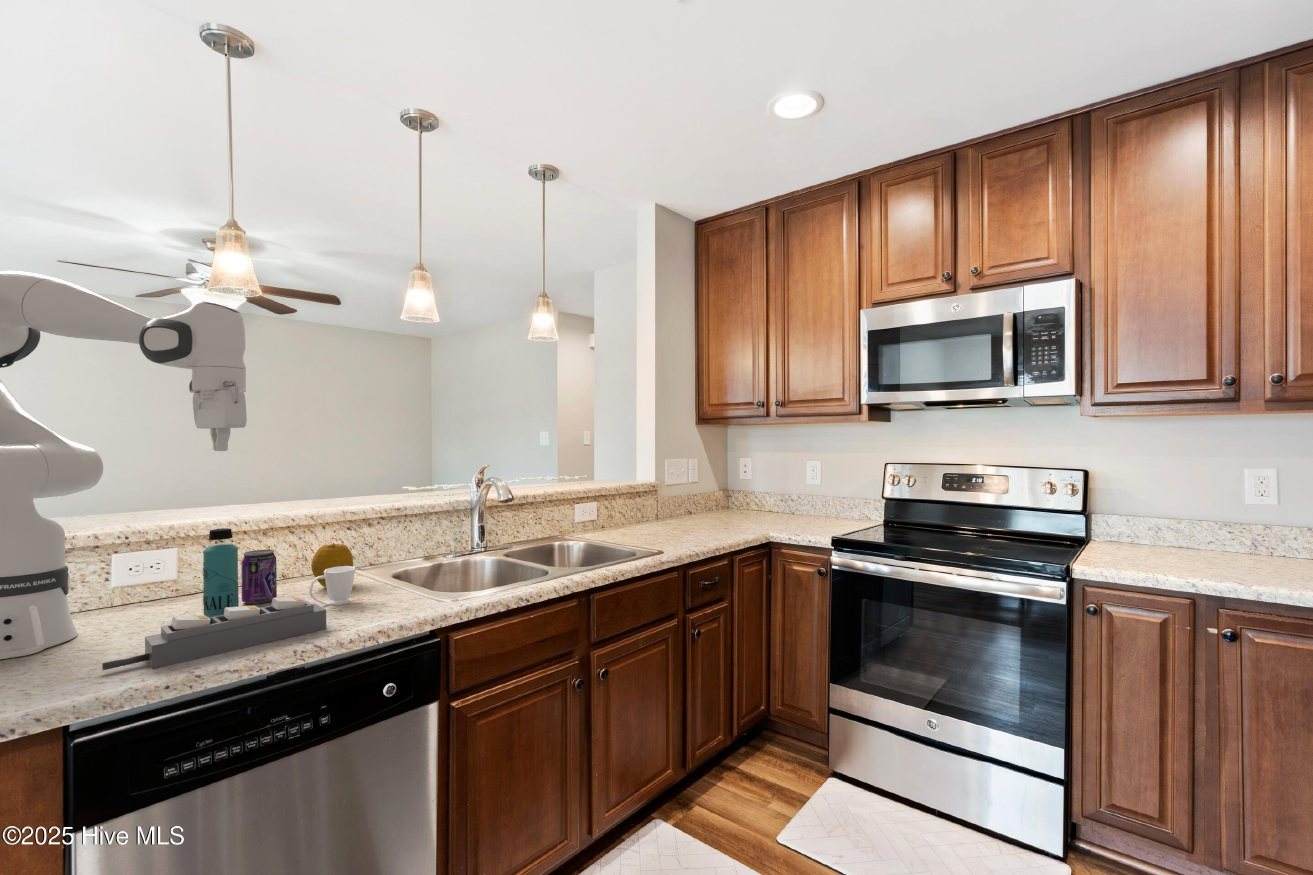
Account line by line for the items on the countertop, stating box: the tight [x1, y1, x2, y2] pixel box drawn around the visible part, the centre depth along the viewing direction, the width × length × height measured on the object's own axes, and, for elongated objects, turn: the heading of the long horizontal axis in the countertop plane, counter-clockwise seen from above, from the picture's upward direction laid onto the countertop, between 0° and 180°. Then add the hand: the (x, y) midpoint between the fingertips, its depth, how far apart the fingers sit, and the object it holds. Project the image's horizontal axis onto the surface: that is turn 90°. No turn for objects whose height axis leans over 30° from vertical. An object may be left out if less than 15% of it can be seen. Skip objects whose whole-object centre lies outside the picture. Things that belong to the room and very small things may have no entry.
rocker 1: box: [170, 615, 211, 629], centre depth 111 cm, size 5×4×2 cm
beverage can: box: [240, 549, 278, 605], centre depth 146 cm, size 7×7×12 cm
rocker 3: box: [270, 597, 307, 609], centre depth 123 cm, size 5×4×2 cm
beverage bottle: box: [202, 527, 240, 618], centre depth 131 cm, size 6×7×20 cm
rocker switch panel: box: [101, 599, 327, 671], centre depth 115 cm, size 34×7×5 cm, turn 138°
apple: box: [310, 542, 354, 588], centre depth 159 cm, size 10×10×12 cm
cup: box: [308, 566, 356, 606], centre depth 143 cm, size 7×10×8 cm
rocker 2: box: [224, 604, 260, 620], centre depth 117 cm, size 5×4×2 cm
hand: (220, 450), depth 122 cm, fingers closed
